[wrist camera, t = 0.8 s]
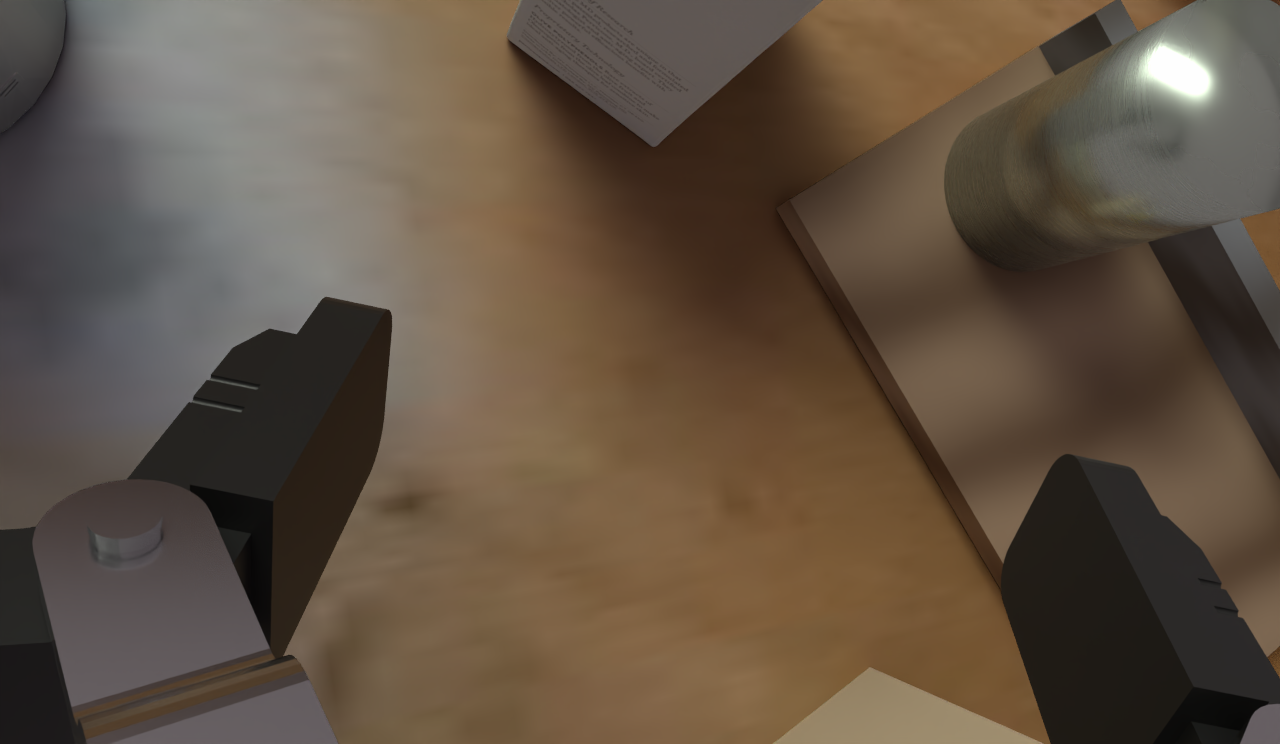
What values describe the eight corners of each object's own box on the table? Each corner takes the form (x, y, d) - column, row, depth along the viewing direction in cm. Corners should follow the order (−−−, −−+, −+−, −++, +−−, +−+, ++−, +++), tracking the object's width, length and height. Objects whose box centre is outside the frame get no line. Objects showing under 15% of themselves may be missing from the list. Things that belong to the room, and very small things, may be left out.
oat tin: (914, 156, 36) (1115, 52, 26) (1036, 79, 38) (1268, -46, 28) (998, 302, 37) (1225, 252, 27) (1115, 220, 38) (1370, 145, 28)
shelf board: (775, 208, 36) (828, 178, 32) (1043, 42, 39) (1122, -4, 35) (1107, 770, 38) (1196, 809, 34) (1335, 566, 41) (1441, 580, 37)
